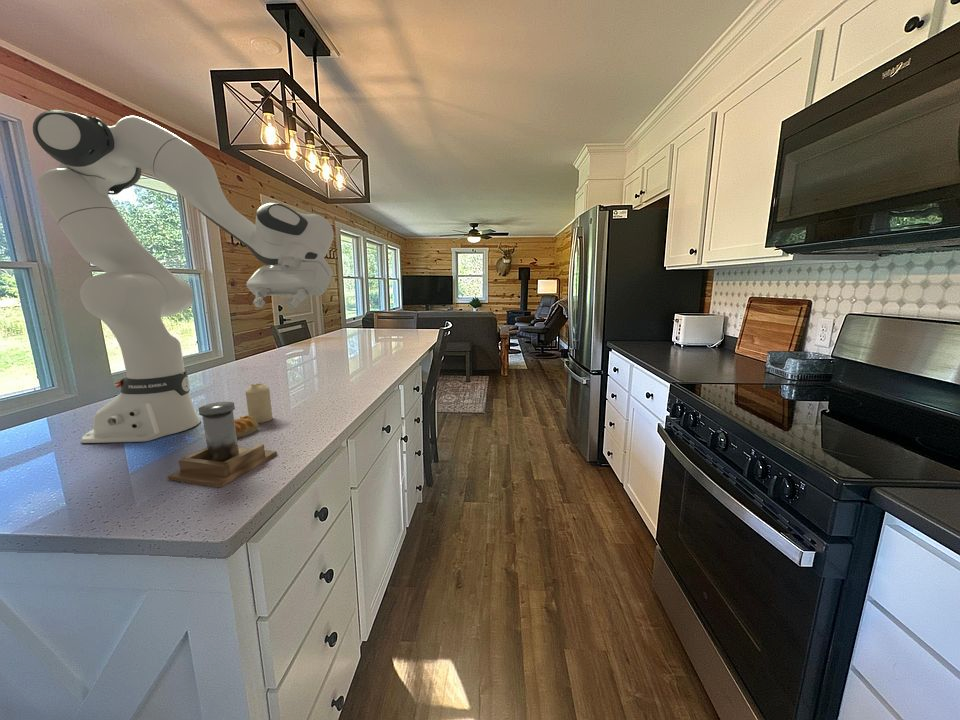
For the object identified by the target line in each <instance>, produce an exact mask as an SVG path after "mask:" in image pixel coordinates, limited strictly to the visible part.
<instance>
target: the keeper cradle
mask: <svg viewBox="0 0 960 720" xmlns="http://www.w3.org/2000/svg"><path fill="white" fill-rule="evenodd" d="M238 449H239V454H238V455H236V456H235V457H233V458H231V459H229V460H227V461H225V462H218V461H210V460H209V454H208V448H207V446H206V447H204V448H202V449H200V450H198V451H195V452H193V453H190V454H189V455H187V456H184V457H182V458H180V459H178V467H179V470H178V471H175V472H173V473H172V474H169V475H167V480H168V479H169V480H168V481H172V480H175V481H174V482H178V481H182V482H181V483H185V482H187V483H186V484H193V485H199V484H200V485H201V486H206V487H207V486H208V487H214V488H220V489H221V488H222V487H224V486H226V485H227V484H229V483H230V482H233V481H234V480H236V479H238V478H239V477H241V476H243V475H245V474H247V473H248V472H250V471H252V470H253V469H255V468H257V467H258V466H260V465H262V464H263V463H265V462H267V461H269V460H270V459H272V458H273V457H275V456H277V455H278V451H277V450H270V449H265V444H263V443H258V444H255V445H254V446H253V447H243V446H238ZM200 485H199V486H200Z"/></svg>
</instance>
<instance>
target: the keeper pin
mask: <svg viewBox="0 0 960 720" xmlns="http://www.w3.org/2000/svg"><path fill="white" fill-rule="evenodd" d="M235 409H236V406H235V402H234V401H218V402H211V403H207V404H203V405H202V406H199V407H198V415H200V416H201V417H202V421H203V422H202V423H203V429H204V433H205V441H206V447H207V448H208V454H209V460H210V461H218V462H225V461H227V460H229V459H231V458H233V457H235V456H236V455H238V454H239V449H238V447H239V444H238V438H237V436H236V429H235V422H234V420H235V417H234V416H235V415H234V410H235Z"/></svg>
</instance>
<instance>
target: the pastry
mask: <svg viewBox="0 0 960 720" xmlns="http://www.w3.org/2000/svg"><path fill="white" fill-rule="evenodd" d="M234 422H235V429H236V436H237V439H239V438H242V437H243V438H244V437H245V436H247V435H251V434H252V433H255V432H257V431H258V429H259V428H260V426H259V425H260V424H259V423H257V422H256V421H255V420H254V418H253V417H251V416H249V415H244V416H240V417H239V418H236V419H235V418H234Z"/></svg>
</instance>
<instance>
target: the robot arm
mask: <svg viewBox="0 0 960 720" xmlns="http://www.w3.org/2000/svg"><path fill="white" fill-rule="evenodd" d="M32 134H33V136H34V139H35V140H36V142H37V144H38V146H40V147H41V148H42V150H43V151H45V152H46V153H47V154H48V155H49V156H50V157H51V158H52V159H54V160H55V161H57V162H59V165H58V166H57V167H56V168H52V169H49V170H46V171H44V172H43V173H41V174H40V175H39V177H38V178H37V188H38V191H39V193H40V195H41V197H42V199H43V201H44V203H45V206H46V207H47V209H48V210H49V212H50V214H51V216H52V217H53V219H54V221H55V222H56V223H57V225H58V226H59V228H60V229H61V230H62V232H63V233H64V235H65V236H66V238H67V239H68V240H69V242H70V243H71V245H72V246H73V247H74V249H75V250H76V252H77V253H78V254H79V256H80V257H81V258H82V259H83V260H84V261H86V262H88V263H89V264H91V265H93V266H95V267H97V268H98V269H100V270H102V271H103V272H104V273H101V274H96V275H93V276H90V277H88V278H87V279H85V281H83V283H82V285H81V286H80V290H79V298H80V301H81V303H82V305H83V307H84V308H85V310H86V311H87V312H89V314H90V315H93V316H94V317H96V318H98V319H99V320H100V321H102V322H103V323H104V324H105V325H106V326H107V327H108V329H109V330H110V331H111V333H112V335H113V336H114V337H115V339H116V340H117V342H118V346H119V348H120V350H121V351H120V352H121V355H122V359H123V363H124V367H125V374H126V377H124V378H122V379H120V380H119V381H118V382H115V383H114V385H116V384H117V385H116V386H114V388H119V387H120V393H119V394H118V395H116V396H115V397H114V398H112V399H111V400H110V401H108V402H107V403H106V404H104V405H103V406H102V407H101V408H99V409H98V410H97V411H96V412H95V413H94V416H93V422H92V423H93V425H92V429H91V430H89V431H87V432H86V433H85V434H84V435H82V436H81V443H82V444H91V443H92V444H93V443H94V444H95V443H96V444H98V443H99V444H101V443H102V444H103V443H133V442H134V443H135V442H139V443H140V442H141V443H142V442H150V441H153V440H156V439H158V438H162V437H166V436H169V435H174V434H177V433H180V432H183V431H187V430H189V429H192V428H194V427H196V426H197V425H199V424H200V423H201V419H200V418H199V416H198V415H199V414H197V412H196V409H195V406H194V404H193V401H192V398H191V395H190V380H189V377H188V371H187V370H185V365H184V359H183V352H182V348H181V347H182V346H181V342H180V340H179V339H178V338H177V337H175V336H173V335H172V334H171V333H170V332H169V330H168V329H167V328H166V326H165V324H164V322H163V319H162V318H166V317H167V318H168V317H172V316H175V315H177V314H180V313H182V312H184V311H186V310H188V309H189V308H190V307H191V305H192V304H193V301H194V294H193V290H192V288H191V286H190V285H189V284H188V282H186V281H185V280H184V279H182V278H180V277H178V276H177V275H175V274H174V273H172V272H171V271H170V270H168V269H167V267H166V266H164V265H163V264H162V263H161V262H160V261H159V260H158V259H157V258H156V257H154V255H153V254H152V253H151V252H150V251H148V250H147V248H146V247H145V245H143V244H142V243H141V241H140V240H139V239H138V238H137V236H136V235H135V233H134V232H133V231H132V228H130V226H129V225H128V224H127V221H125V219H124V217H123V216H122V215H121V213H120V212H119V211H118V209H117V208H116V206H115V205H114V203H113V202H112V199H111V198H110V196H109V195H111V196H114V195H118V194H120V193H121V192H122V191H123V190H127V189H129V188H131V187H133V186H134V185H136V184H137V182H139V180H140V179H141V176H142V170H143V171H145V172H146V173H148V174H150V175H151V176H153V177H154V178H156V179H158V180H159V181H161V182H163V183H164V184H165V185H167V186H169V187H170V188H172V190H174V191H175V192H177V193H178V194H180V196H182V197H183V198H184V199H186V201H188V202H189V203H190V204H191V205H192V206H193V207H194V208H195V209H196V210H197V211H198V212H199V213H201V215H203V216H204V217H205V218H206V219H208V220H210V221H211V222H212V223H213V224H214V225H216V226H217V227H219V228H220V229H222V230H223V231H225V232H226V233H227V234H228V235H230V236H231V237H232V238H234V239H236V240H237V241H238V242H240V243H241V244H242V245H243V246H244V247H246V248H247V249H248V250H249V251H250V252H251V253H252V255H253V256H254V257H255V258H256V259H257V260H258V261H259V262H262V263H263V264H264V265H263V266H260V267H259V268H257V270H255V271H254V273H253V274H252V275H251V276H250V278H249V279H248V280H247V281H246V288H247V289H248V291H250V292H251V294H252V295H254V299H253V302H252V304H253V305H254V306H255V307H256V308H264V306H265V304H266V301H265V300H264V298H266V297H267V296H279V297H280V296H281V297H283V296H285V297H286V296H287V297H288V296H289V299H288V300H287V302H286V303H287V305H288V307H289V308H295V309H296V308H297V307H298V306H299V304H300V303H302V302H303V301H304V300H306V299H308V297H313V296H314V297H316V296H317V297H318V296H322V295H323V294H325V293H326V291H327V289H328V288H329V285H330V283H331V278H332V277H333V276H334V272H333V270H332V267H331V266H330V264H329V263H328V261H327V260H326V258H325V257H326V256H327V254H328V253H329V250H330V248H331V247H332V244H333V241H334V235H335V234H334V229H333V227H332V225H331V223H330V221H328V219H326V218H325V217H323V216H322V215H320V214H316V213H311V214H310V213H308V214H306V213H301V212H299V211H295V210H294V209H292V208H290V207H289V206H286V205H285V204H282V203H278V202H269V203H268V202H267V203H265V204H263V205H261V206H259V207H258V208H257V210H256V216H255V223H253V221H251V220H249V219H248V218H246V217H245V216H244V215H243V214H242V213H240V212H239V211H238V210H237V209H235V208H234V207H233V206H232V204H231V203H230V202H229V201H228V199H227V197H226V195H225V193H224V191H223V190H222V187H221V184H220V181H219V178H218V175H217V173H216V169H215V168H214V165H213V164H212V162H211V161H210V160H209V158H208V157H206V156H205V155H204V154H203V153H202V151H200V150H199V149H197V148H196V147H195V146H193V145H192V144H190V143H189V142H187V141H186V140H184V139H182V138H181V137H179V136H178V135H177V134H174V133H173V132H171V131H169V130H167V129H166V128H163V127H161V126H160V125H158V124H156V123H154V122H152V121H150V120H147V119H146V118H142V117H141V116H140V117H139V116H136V115H129V116H125V117H122V118H121V119H119V120H118V121H117V122H116V124H114V125H112V126H109V125H107V124H106V123H105V122H104V121H103V120H102V119H100V118H98V117H94V116H88V115H81V114H78V113H75V112H72V111H67V110H62V109H50V110H46V111H45V110H44V111H43V112H41V113H39V114H38V115H37V116H36V117H35V119H34V121H33V123H32ZM290 296H291V297H290ZM292 296H293V297H292Z"/></svg>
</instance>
